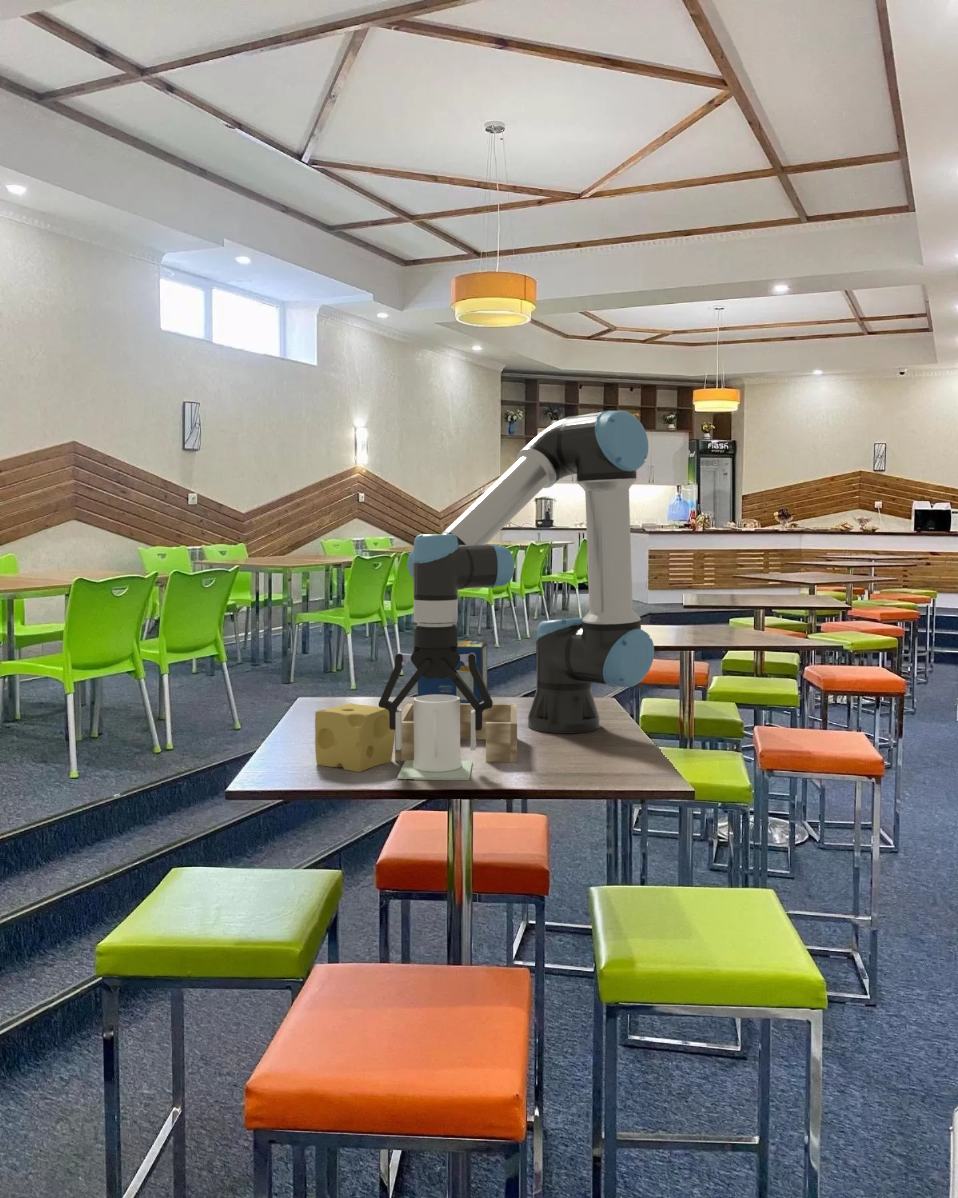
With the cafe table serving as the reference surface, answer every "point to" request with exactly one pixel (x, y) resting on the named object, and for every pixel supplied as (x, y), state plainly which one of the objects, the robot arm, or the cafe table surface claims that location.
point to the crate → (495, 729)
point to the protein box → (447, 685)
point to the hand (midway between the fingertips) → (436, 748)
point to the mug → (437, 733)
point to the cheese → (353, 737)
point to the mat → (415, 774)
